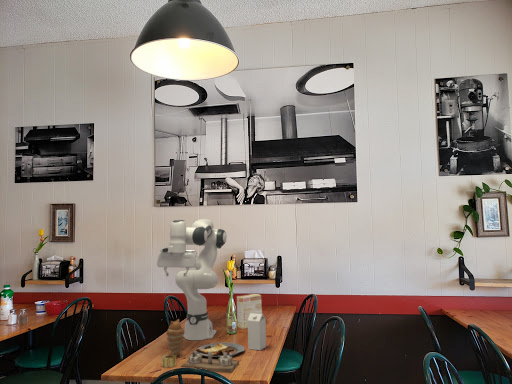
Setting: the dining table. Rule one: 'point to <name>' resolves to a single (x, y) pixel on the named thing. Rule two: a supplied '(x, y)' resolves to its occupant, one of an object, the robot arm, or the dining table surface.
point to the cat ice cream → (175, 337)
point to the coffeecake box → (247, 308)
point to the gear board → (213, 366)
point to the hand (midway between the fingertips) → (176, 276)
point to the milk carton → (256, 331)
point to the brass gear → (169, 361)
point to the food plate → (219, 349)
